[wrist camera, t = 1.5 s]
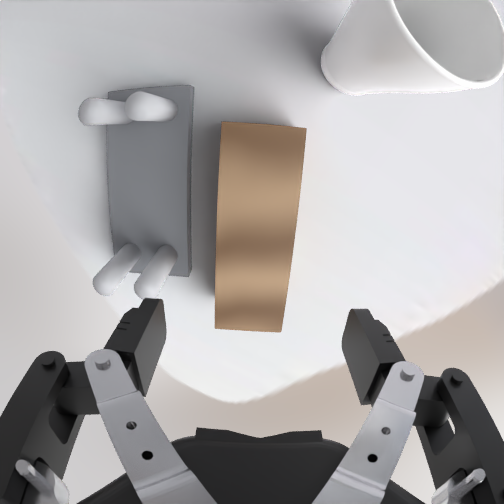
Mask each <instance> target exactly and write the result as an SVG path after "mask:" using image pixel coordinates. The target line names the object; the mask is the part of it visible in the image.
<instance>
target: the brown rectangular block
mask: <svg viewBox="0 0 504 504" xmlns="http://www.w3.org/2000/svg"><path fill="white" fill-rule="evenodd" d="M306 129H307V128H299V127H290V126H281V125H270V124H257V123H241V122H222V124H221V141H220V159H219V178H218V201H217V229H216V267H215V329H228V330H243V331H261V332H281V330H282V324H283V317H284V311H285V304H286V297H287V291H288V284H289V277H290V269H291V262H292V255H293V247H294V239H295V231H296V223H297V215H298V207H299V198H300V189H301V180H302V170H303V161H304V151H305V140H306Z"/></svg>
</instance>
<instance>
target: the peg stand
mask: <svg viewBox="0 0 504 504" xmlns="http://www.w3.org/2000/svg"><path fill="white" fill-rule="evenodd" d="M193 100H194V87H192V86H191V85H183V86H163V87H149V88H138V89H129V90H120V91H112V92H108V99H100V98H88V99H86V100H84V101H83V102H82V104H81V105H80V107H79V111H78V116H79V120H80V121H81V123H83V124H84V125H107V175H108V195H109V209H110V221H111V231H112V241H113V249H114V257H113V258H112V259H111V260H110V261H109V262H108V263H107V264H106V265H105V266H104V267H103V268H102V269H101V270H100V271H99V273H98V274H97V275H96V276H95V277H94V278H93V286H94V288H95V290H96V291H97V292H98V293H99V294H100V295H103V296H110V295H112V294H113V292H114V291H115V290H116V288H117V287H118V286H119V284H120V283H121V282H122V280H123V279H124V278H125V276H126V275H127V274H128V272H131V273H141V275H140V276H139V278H138V279H137V281H136V282H135V284H134V290H135V293H136V294H137V296H138V297H139V298H141V299H143V300H144V298H156V297H157V296H158V294H159V292H160V290H161V288H162V286H163V284H164V282H165V280H166V279H167V277H168V275H169V276H183V277H189V274H190V272H191V270H192V265H191V147H192V120H193Z"/></svg>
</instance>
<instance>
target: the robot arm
mask: <svg viewBox="0 0 504 504" xmlns="http://www.w3.org/2000/svg"><path fill="white" fill-rule="evenodd" d="M165 340H166V322H165V313H164V304H163V300H162V299H155V298H144V300H143V301H142V303H141V305H140V307H139V308H132V309H130V310H129V311H128V312H126V313H125V314H124V315H123V317H122V319H121V320H120V323H119V324H118V325H117V327H116V329H115V330H114V332H113V334H112V335H111V337H110V339H109V340H108V342H107V344H106V345H105V347H104V349H101V350H97V351H94V352H92V353H91V354H90V355H88V356H87V358H86V360H85V361H82V362H66V360H65V358H64V356H63V355H62V354H61V353H59V352H56V351H48V352H45V353H42V354H40V355H39V356H38V357H37V358H36V359H35V360H34V362H33V363H32V365H31V366H30V368H29V370H28V371H27V373H26V374H25V376H24V377H23V379H22V381H21V382H20V384H19V386H18V387H17V389H16V390H15V392H14V394H13V395H12V397H11V399H10V401H9V402H8V404H7V406H6V408H5V410H4V411H3V413H2V415H1V417H0V504H69V491H68V488H67V486H66V485H65V483H64V482H63V481H62V479H63V476H64V473H65V470H66V467H67V464H68V461H69V457H70V455H71V452H72V449H73V446H74V443H75V440H76V438H77V435H78V432H79V429H80V427H81V424H82V422H83V419H84V416H85V415H86V414H89V415H91V414H100V415H101V417H102V419H103V422H104V424H105V427H106V429H107V432H108V434H109V436H110V439H111V441H112V443H113V445H114V448H115V450H116V452H117V454H118V456H119V459H120V461H121V463H122V465H123V466H124V469H125V471H126V473H125V474H123V475H122V476H120V477H119V478H117V479H116V480H114V481H113V482H111V483H110V484H108V485H106V486H105V487H103V488H102V489H100V490H99V491H97V492H95V493H94V494H92V495H90V496H89V497H87V498H86V499H84V500H82V501H80V502H79V503H77V504H425V503H424V502H422V501H421V500H419V499H418V498H416V497H415V496H413V495H412V494H410V493H409V492H407V491H406V490H405V489H403V488H402V487H400V486H399V485H397V484H396V483H395V482H393V481H392V480H390V478H391V476H392V474H393V471H394V469H395V467H396V465H397V462H398V460H399V458H400V456H401V453H402V451H403V448H404V445H405V443H406V441H407V438H408V435H409V433H410V430H411V427H412V425H413V426H416V429H417V432H418V434H419V437H420V440H421V443H422V446H423V449H424V452H425V455H426V459H427V462H428V465H429V468H430V471H431V475H432V478H433V482H434V485H435V488H436V491H435V493H434V494H433V497H432V504H504V441H503V439H502V437H501V435H500V433H499V431H498V429H497V427H496V425H495V423H494V421H493V419H492V418H491V416H490V414H489V412H488V410H487V408H486V406H485V404H484V403H483V401H482V399H481V397H480V395H479V394H478V392H477V390H476V389H475V387H474V385H473V384H472V382H471V380H470V378H469V377H468V375H467V374H466V373H464V372H463V371H462V370H459V369H456V368H448V369H446V370H444V371H443V373H442V375H441V377H433V376H426V375H424V373H423V371H422V370H421V368H420V367H418V366H417V365H415V364H414V363H411V362H407V361H405V359H404V357H403V355H402V353H401V351H400V350H399V348H398V346H397V344H396V343H395V342H394V339H393V337H392V336H391V334H390V332H389V331H388V329H387V327H386V326H385V325H384V324H382V323H381V322H380V321H379V320H374V318H373V317H372V315H371V313H370V311H369V310H368V309H351V310H350V312H349V315H348V319H347V322H346V326H345V330H344V333H343V337H342V350H343V353H344V356H345V359H346V362H347V365H348V367H349V371H350V373H351V376H352V379H353V382H354V385H355V388H356V391H357V394H358V397H359V400H360V403H361V405H368V404H371V405H372V409H371V411H370V413H369V415H368V417H367V419H366V421H365V422H364V424H363V426H362V428H361V430H360V431H359V433H358V435H357V437H356V438H355V440H354V442H353V443H352V445H351V447H350V448H348V447H346V446H344V445H342V444H340V443H338V442H335V441H332V440H328V439H323V438H322V433H321V430H320V431H319V430H318V431H298V432H297V431H296V432H287V433H283V434H278V435H274V436H269V437H264V438H256V437H252V436H248V435H244V434H240V433H236V432H232V431H229V430H218V429H206V428H197V430H196V435H195V436H190V437H184V438H181V439H177V440H175V441H173V442H169V440H168V438H167V437H166V435H165V433H164V432H163V430H162V429H161V427H160V425H159V424H158V422H157V421H156V419H155V417H154V415H153V414H152V412H151V410H150V408H149V407H148V405H147V403H146V401H145V400H144V398H143V397H146V394H147V391H148V388H149V385H150V382H151V380H152V377H153V374H154V371H155V368H156V366H157V363H158V360H159V357H160V355H161V352H162V349H163V346H164V344H165ZM449 417H450V418H451V420H452V422H453V424H454V427H455V434H454V433H453V430H452V428H451V426H450V424H449V421H448V418H449Z"/></svg>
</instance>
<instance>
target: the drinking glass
mask: <svg viewBox="0 0 504 504" xmlns="http://www.w3.org/2000/svg"><path fill="white" fill-rule="evenodd" d="M321 68H322V71H323V74H324V76H325V78H326V79H327V80H328V82H329V83H330V84H331V85H332V86H333V87H334V88H336V89H337V90H339V91H340V92H343V93H345V94H348V95H353V96H361V95H366V94H375V93H412V94H427V93H445V92H455V91H463V90H470V89H476V88H484V87H487V86H490V85H492V84H493V83H495V82H496V81H497V80H498V79H499V78H500V77H501V75H502V74H503V72H504V27H503V24H502V21H501V19H500V16H499V14H498V12H497V10H496V8H495V6H494V5H493V3H492V2H491V0H353V1H352V3H351V4H350V6H349V8H348V10H347V11H346V13H345V15H344V17H343V19H342V21H341V22H340V24H339V26H338V28H337V29H336V31H335V33H334V35H333V37H332V38H331V40H330V41H329V43H328V44H327V45H326V46H325V48H324V49H323V52H322V55H321Z"/></svg>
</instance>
